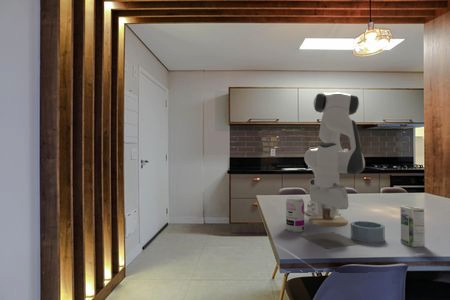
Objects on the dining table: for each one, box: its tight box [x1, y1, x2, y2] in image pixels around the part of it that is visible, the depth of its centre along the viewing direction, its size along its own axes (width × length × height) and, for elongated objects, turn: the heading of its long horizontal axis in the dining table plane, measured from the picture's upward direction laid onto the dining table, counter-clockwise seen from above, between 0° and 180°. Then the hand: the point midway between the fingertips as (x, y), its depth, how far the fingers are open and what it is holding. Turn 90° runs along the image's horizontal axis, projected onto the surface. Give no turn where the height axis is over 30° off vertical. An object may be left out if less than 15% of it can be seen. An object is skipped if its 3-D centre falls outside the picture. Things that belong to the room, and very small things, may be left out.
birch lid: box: [308, 208, 349, 228], centre depth 112 cm, size 15×15×5 cm
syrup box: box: [400, 205, 426, 248], centre depth 105 cm, size 6×6×14 cm
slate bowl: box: [350, 220, 386, 244], centre depth 113 cm, size 12×12×6 cm
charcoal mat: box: [300, 231, 363, 250], centre depth 111 cm, size 17×17×1 cm
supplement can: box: [285, 196, 306, 233], centre depth 127 cm, size 8×8×15 cm
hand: (328, 216), depth 112 cm, fingers closed on birch lid, 3 cm apart
